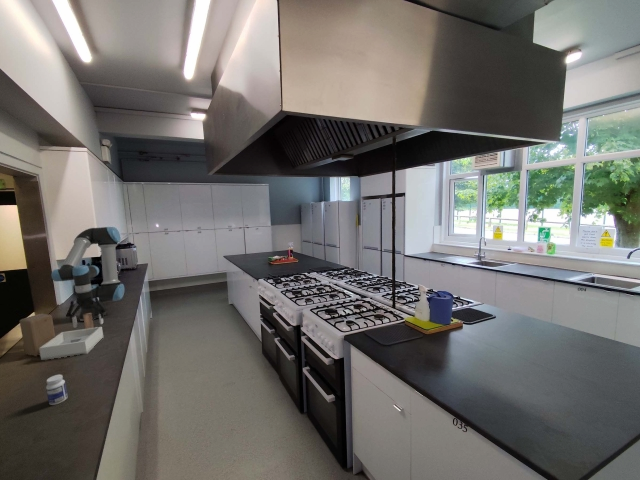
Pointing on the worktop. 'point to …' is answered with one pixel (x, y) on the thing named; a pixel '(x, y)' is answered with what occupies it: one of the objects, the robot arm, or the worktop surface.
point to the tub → (71, 343)
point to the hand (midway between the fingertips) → (88, 325)
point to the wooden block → (36, 332)
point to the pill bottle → (56, 390)
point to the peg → (88, 320)
